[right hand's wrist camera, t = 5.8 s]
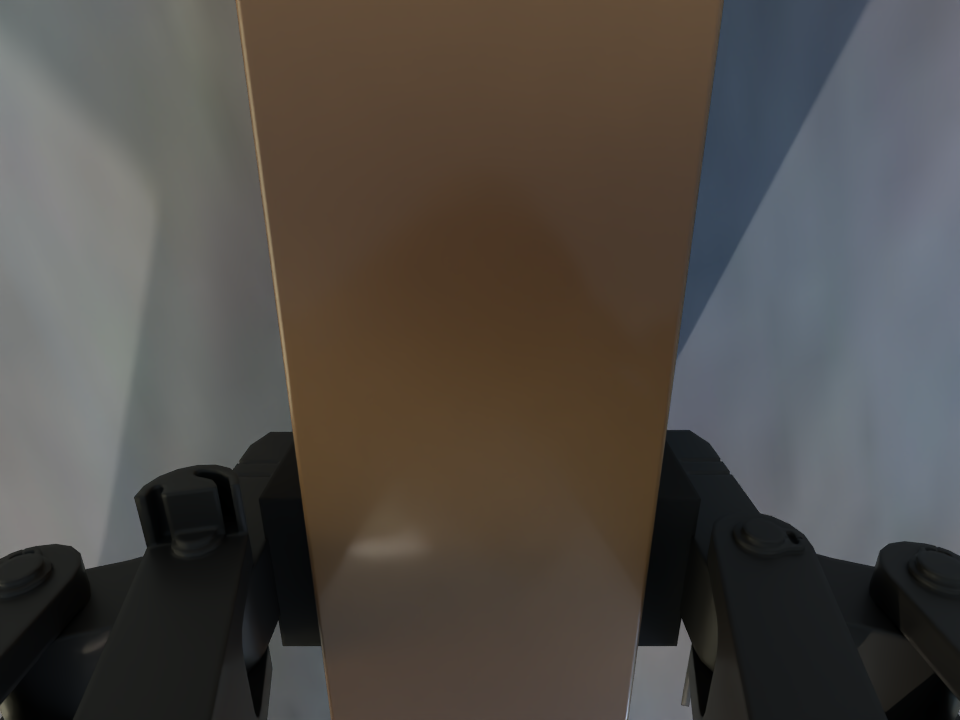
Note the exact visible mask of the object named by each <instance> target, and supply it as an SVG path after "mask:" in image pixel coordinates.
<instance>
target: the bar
mask: <svg viewBox="0 0 960 720" xmlns="http://www.w3.org/2000/svg"><path fill="white" fill-rule="evenodd" d="M235 1H236V8H237V16H238V23H239V31H240V38H241V46H242V53H243V61H244V68H245V76H246V83H247V91H248V98H249V106H250V114H251V121H252V129H253V136H254V144H255V151H256V159H257V166H258V174H259V181H260V189H261V196H262V204H263V211H264V219H265V226H266V234H267V241H268V249H269V256H270V264H271V271H272V279H273V286H274V294H275V302H276V309H277V317H278V324H279V332H280V339H281V347H282V354H283V362H284V369H285V377H286V384H287V392H288V399H289V407H290V414H291V422H292V429H293V437H294V444H295V452H296V459H297V467H298V474H299V482H300V490H301V497H302V505H303V512H304V520H305V527H306V535H307V542H308V550H309V557H310V565H311V572H312V580H313V587H314V595H315V602H316V610H317V617H318V625H319V632H320V640H321V647H322V655H323V663H324V670H325V678H326V685H327V693H328V700H329V708H330V715H331V720H628V717H629V709H630V702H631V694H632V687H633V679H634V672H635V664H636V657H637V649H638V642H639V634H640V627H641V619H642V612H643V604H644V597H645V589H646V582H647V574H648V567H649V559H650V552H651V544H652V537H653V529H654V522H655V514H656V507H657V499H658V492H659V484H660V477H661V469H662V462H663V454H664V447H665V439H666V432H667V424H668V417H669V409H670V402H671V394H672V387H673V379H674V372H675V364H676V357H677V349H678V342H679V334H680V327H681V319H682V312H683V304H684V297H685V289H686V282H687V274H688V267H689V259H690V252H691V244H692V237H693V229H694V222H695V214H696V207H697V199H698V192H699V184H700V177H701V169H702V162H703V154H704V147H705V139H706V132H707V124H708V117H709V109H710V102H711V94H712V87H713V79H714V72H715V64H716V57H717V49H718V42H719V34H720V27H721V19H722V12H723V4H724V0H235Z"/></svg>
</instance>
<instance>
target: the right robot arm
mask: <svg viewBox="0 0 960 720" xmlns="http://www.w3.org/2000/svg"><path fill="white" fill-rule="evenodd" d="M134 499H135V502H136V506H137V510H138V514H139V518H140V522H141V526H142V530H143V533H144V537H145V541H146V545H147V549H146V551H145V554H144V556H143V557H139V558H136V559H132V560H128V561H123V562H119V563H114V564H109V565H104V566H99V567H95V568H90V569H85V567H84V564H83V560H82V557H81V554H80V553H79V552H78V551H77V550H75V549H74V548H73V547H72V546H66V545H59V544H51V545H42V546H35V547H30V548H26V549H25V550H19V551H16V552H13V553H11V554H9V555H7V556H5V557H3V558H1V559H0V711H1V713H2V715H3V716H2V718H1V719H0V720H267V716H268V706H269V696H270V687H271V677H272V663H271V657H270V651H269V645H268V644H269V642H270V639H271V637H272V634H273V632H274V629H275V627H276V624H277V622H278V620H279V626H280V632H281V638H282V644H283V646H321V640H320V632H319V625H318V617H317V610H316V602H315V595H314V587H313V580H312V572H311V565H310V557H309V550H308V542H307V535H306V527H305V520H304V512H303V505H302V497H301V490H300V482H299V474H298V467H297V459H296V452H295V444H294V437H293V432H270V433H268V434H267V435H265V436H264V437H262V438H261V439H259V440H258V441H256V442H255V443H253V444H252V445H250V447H249V448H248V450H247V451H246V452H245V454H244V455H243V456H242V458H241V459H240V463H239V464H237V465H236V466H235V468H234V469H233V470H231V469H230V468H227V467H223V466H219V465H196V466H191V467H186V468H181V469H177V470H175V471H172V472H169V473H167V474H164V475H162V476H159V477H158V478H156V479H154V480H153V481H151V482H150V483H148V484H146V485H145V486H143V488H142V489H141V490H140V491H139V492H138V493H137V495H136V496H135V497H134ZM681 618H682V620H683V623H684V625H685V627H686V630H687V632H688V635H689V637H690V640H691V642H692V645H691V651H690V657H689V662H688V668H687V673H686V679H685V685H684V690H683V696H682V703H681V705H683V706H688V707H689V703H690V698H691V705H692V714H693V720H960V716H959V715H958V712H959V709H960V556H959V555H957V554H954V553H953V552H951V551H949V550H946V549H943V548H940V547H936V546H933V545H929V544H924V543H915V542H906V541H903V542H897V543H890V544H888V545H887V546H885V547H884V548H883V549H882V550H880V552H879V555H878V559H877V562H876V565H875V567H873V566H868V565H863V564H858V563H853V562H849V561H844V560H839V559H834V558H830V557H826V556H822V555H819V554H816V553H815V550H814V548H813V546H812V545H811V543H810V542H809V541H808V539H807V538H806V537H805V535H804V534H802V533H801V532H800V531H798V530H797V529H795V528H794V527H793V526H791V525H790V524H788V523H786V522H784V521H781V520H779V519H777V518H775V517H772V516H769V515H764V514H760V513H759V511H758V510H757V509H756V507H755V506H754V504H753V503H752V502H751V500H750V499H749V497H748V496H747V495H746V493H745V492H744V491H743V489H742V488H741V486H740V485H739V484H738V482H737V481H736V480H735V478H734V477H733V475H730V471H729V470H728V468H727V467H726V466H725V464H724V463H723V462H721V461H720V457H719V456H718V455H717V453H716V452H715V450H714V449H713V448H712V446H711V445H710V444H709V443H708V442H707V441H705V440H704V439H702V438H700V437H699V436H697V435H696V434H694V433H693V432H691V431H690V430H667V432H666V439H665V447H664V454H663V462H662V469H661V477H660V484H659V492H658V499H657V507H656V514H655V522H654V529H653V537H652V544H651V552H650V559H649V567H648V574H647V582H646V589H645V597H644V604H643V612H642V619H641V627H640V634H639V642H638V646H677V641H678V635H679V629H680V623H681Z"/></svg>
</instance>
